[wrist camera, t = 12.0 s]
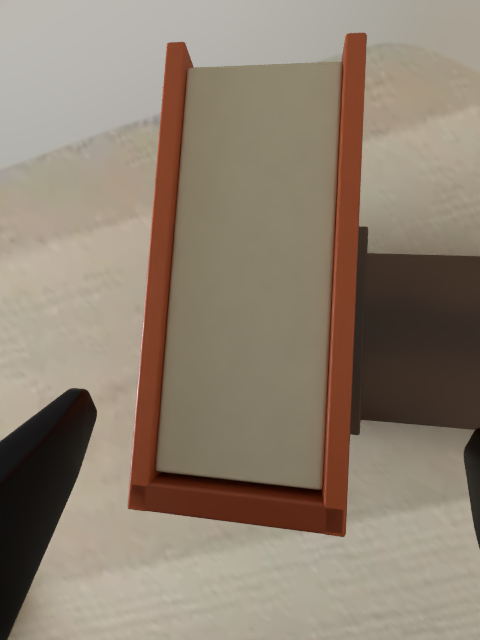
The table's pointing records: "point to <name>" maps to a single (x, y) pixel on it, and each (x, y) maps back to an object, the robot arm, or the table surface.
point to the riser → (416, 339)
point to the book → (252, 294)
